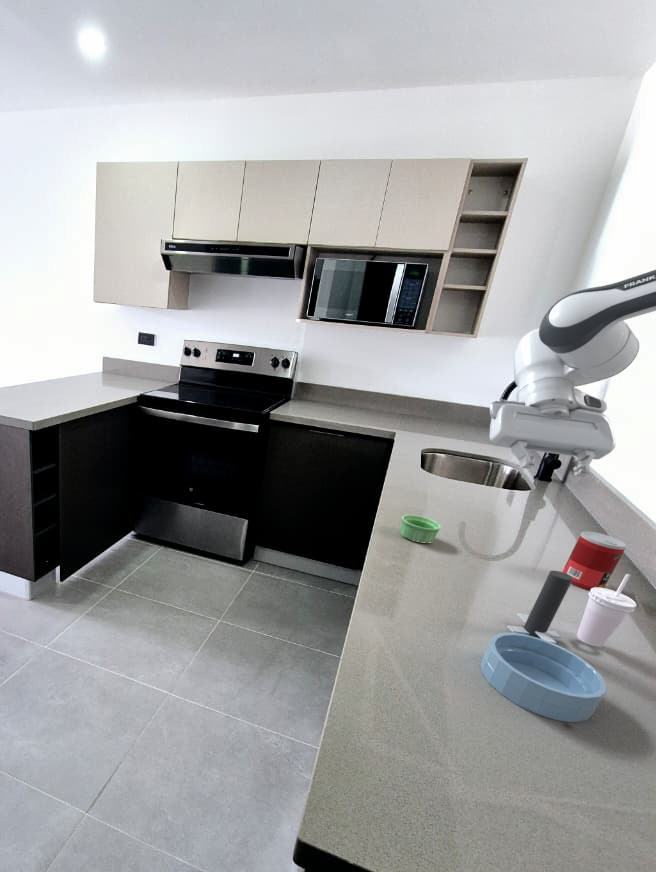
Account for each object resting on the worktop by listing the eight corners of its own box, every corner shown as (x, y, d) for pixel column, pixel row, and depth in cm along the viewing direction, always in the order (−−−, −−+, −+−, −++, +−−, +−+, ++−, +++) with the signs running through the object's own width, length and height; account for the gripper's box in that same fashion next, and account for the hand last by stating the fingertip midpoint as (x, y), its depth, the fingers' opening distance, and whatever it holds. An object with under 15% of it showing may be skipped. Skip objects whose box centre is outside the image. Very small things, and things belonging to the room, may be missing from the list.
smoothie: (619, 654, 87) (660, 584, 81) (589, 654, 86) (628, 584, 80) (586, 631, 93) (622, 565, 87) (558, 631, 91) (592, 564, 86)
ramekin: (398, 526, 132) (403, 511, 130) (435, 536, 129) (440, 520, 127) (396, 538, 124) (401, 522, 122) (435, 548, 121) (441, 532, 119)
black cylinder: (539, 628, 92) (569, 566, 87) (569, 657, 84) (605, 591, 79) (493, 622, 92) (521, 560, 87) (520, 651, 84) (552, 584, 79)
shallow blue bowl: (573, 677, 79) (587, 651, 77) (605, 740, 67) (623, 712, 65) (473, 647, 84) (484, 622, 82) (486, 701, 71) (499, 673, 69)
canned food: (605, 595, 108) (629, 550, 104) (561, 582, 112) (583, 538, 107) (600, 582, 114) (623, 539, 110) (559, 570, 118) (580, 527, 113)
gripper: (499, 387, 91) (505, 453, 86) (615, 403, 90) (628, 470, 85) (479, 408, 97) (484, 470, 92) (588, 423, 96) (599, 487, 91)
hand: (554, 471), depth 88 cm, fingers open, 8 cm apart
